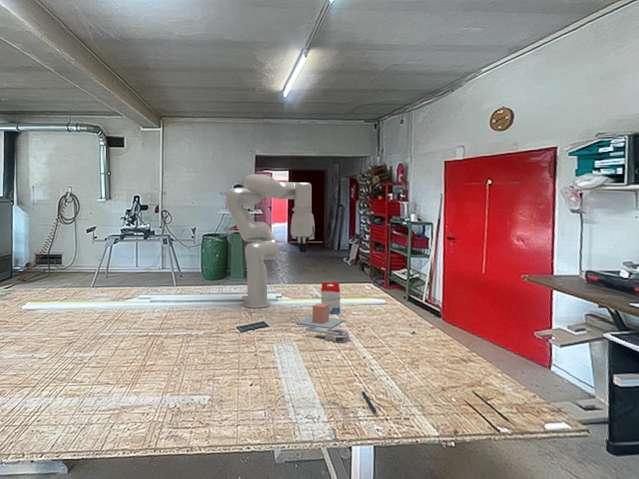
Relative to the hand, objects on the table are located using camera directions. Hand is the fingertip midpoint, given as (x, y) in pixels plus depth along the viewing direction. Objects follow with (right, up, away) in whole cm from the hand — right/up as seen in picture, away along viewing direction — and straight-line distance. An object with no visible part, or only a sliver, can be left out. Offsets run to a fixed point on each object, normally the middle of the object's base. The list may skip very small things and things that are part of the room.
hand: (303, 251), depth 218 cm
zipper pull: (+10, -33, -30) cm, 45 cm away
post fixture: (+8, -30, -8) cm, 32 cm away
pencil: (+21, -38, -89) cm, 99 cm away
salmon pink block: (+8, -29, -8) cm, 31 cm away
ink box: (+13, -29, +10) cm, 33 cm away
